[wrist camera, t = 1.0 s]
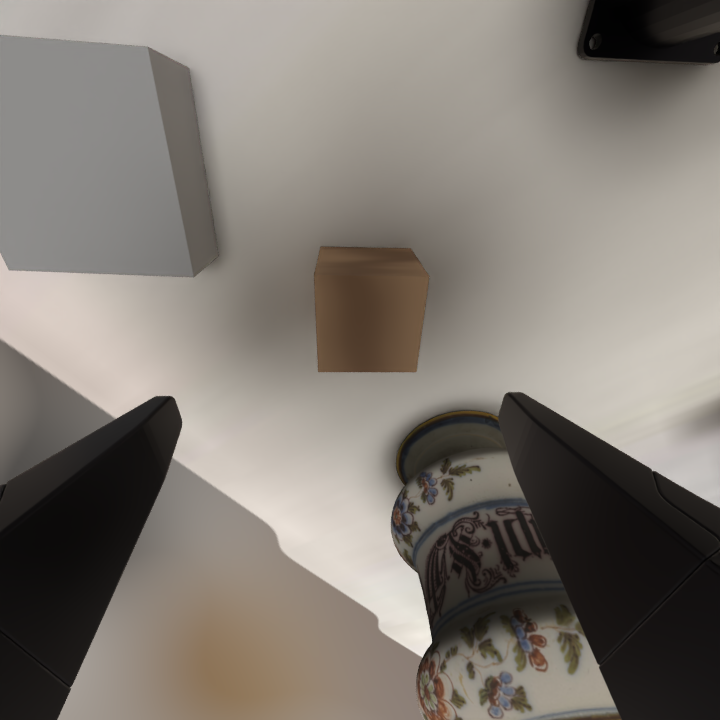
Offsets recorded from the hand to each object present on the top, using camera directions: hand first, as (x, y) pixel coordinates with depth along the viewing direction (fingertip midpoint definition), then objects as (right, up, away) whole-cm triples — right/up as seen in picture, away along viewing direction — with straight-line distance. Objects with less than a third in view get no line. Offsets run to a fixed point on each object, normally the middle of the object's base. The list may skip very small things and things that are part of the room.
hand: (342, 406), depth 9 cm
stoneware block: (-11, +11, +7) cm, 17 cm away
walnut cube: (+1, +5, +11) cm, 12 cm away
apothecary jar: (+8, -6, +19) cm, 22 cm away
